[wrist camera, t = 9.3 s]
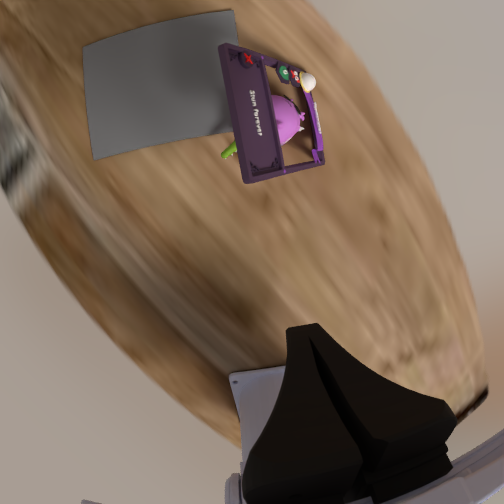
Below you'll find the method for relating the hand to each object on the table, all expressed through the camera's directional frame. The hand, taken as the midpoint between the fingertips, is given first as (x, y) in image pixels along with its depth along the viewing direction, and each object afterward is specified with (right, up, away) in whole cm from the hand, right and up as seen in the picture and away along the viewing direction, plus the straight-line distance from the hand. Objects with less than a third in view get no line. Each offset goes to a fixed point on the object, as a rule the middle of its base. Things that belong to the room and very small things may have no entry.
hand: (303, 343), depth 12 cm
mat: (-8, +15, +5) cm, 18 cm away
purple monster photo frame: (-2, +9, +5) cm, 10 cm away
